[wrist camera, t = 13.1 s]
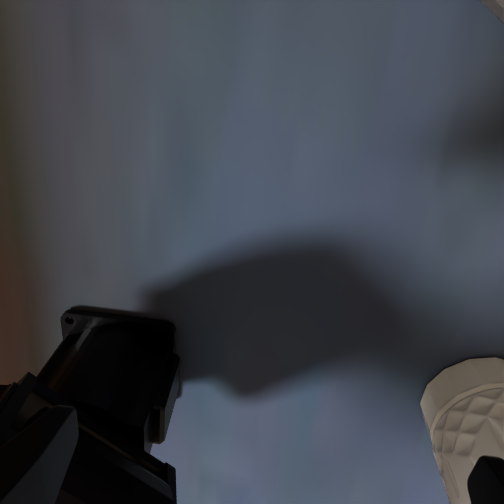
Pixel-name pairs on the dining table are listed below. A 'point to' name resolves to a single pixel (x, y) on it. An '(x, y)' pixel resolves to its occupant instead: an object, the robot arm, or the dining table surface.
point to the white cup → (465, 420)
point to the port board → (495, 7)
